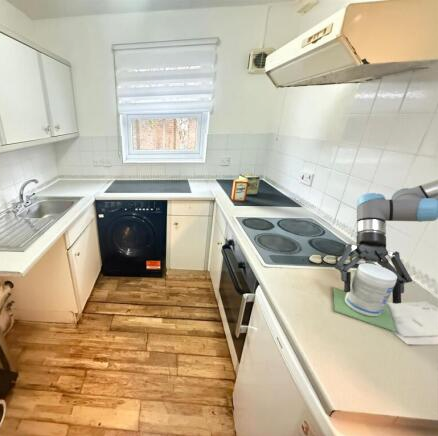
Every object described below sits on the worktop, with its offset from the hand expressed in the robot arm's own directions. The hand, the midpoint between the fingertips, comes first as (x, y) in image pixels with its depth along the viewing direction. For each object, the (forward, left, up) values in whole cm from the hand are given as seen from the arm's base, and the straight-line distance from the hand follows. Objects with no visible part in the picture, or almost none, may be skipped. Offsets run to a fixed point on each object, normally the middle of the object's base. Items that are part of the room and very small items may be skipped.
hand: (371, 297), depth 76 cm
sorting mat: (0, -3, -7) cm, 7 cm away
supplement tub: (0, -3, -6) cm, 7 cm away
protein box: (+66, -121, -7) cm, 138 cm away
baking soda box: (+67, -98, -7) cm, 119 cm away
